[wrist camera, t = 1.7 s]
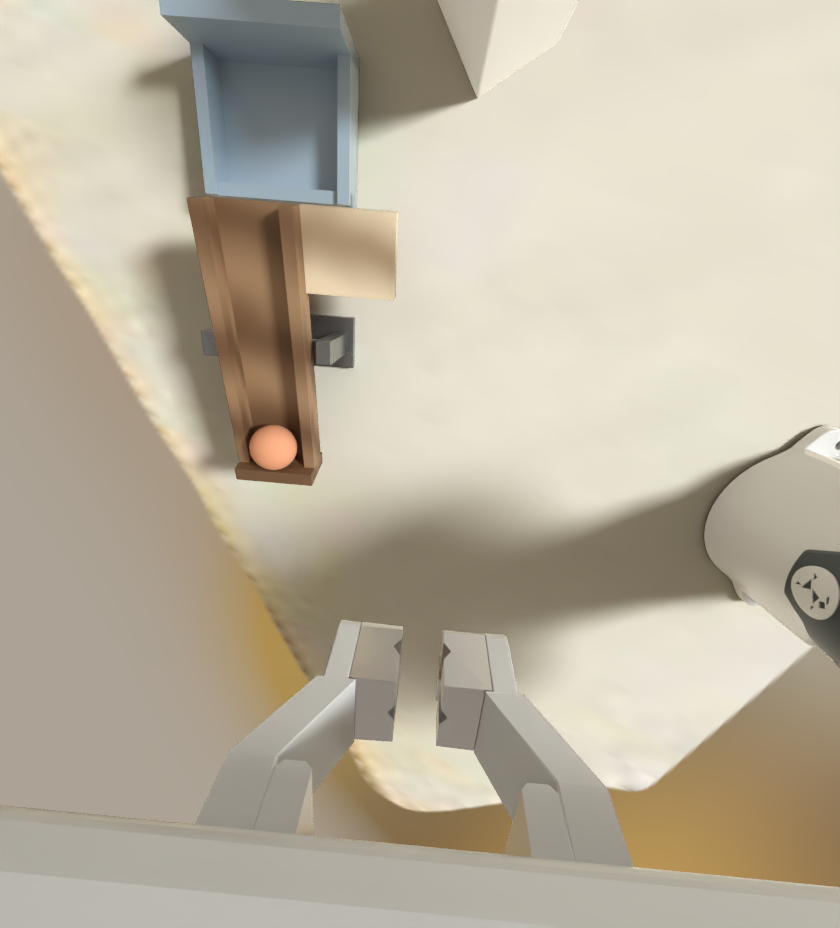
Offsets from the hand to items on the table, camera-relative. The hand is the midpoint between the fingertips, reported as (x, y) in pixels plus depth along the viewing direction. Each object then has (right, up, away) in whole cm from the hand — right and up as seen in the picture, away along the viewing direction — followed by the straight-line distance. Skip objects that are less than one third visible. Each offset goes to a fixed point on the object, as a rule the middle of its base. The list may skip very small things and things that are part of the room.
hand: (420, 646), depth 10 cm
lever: (-8, +13, +22) cm, 27 cm away
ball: (-11, +6, +23) cm, 26 cm away
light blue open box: (-9, +28, +20) cm, 36 cm away
